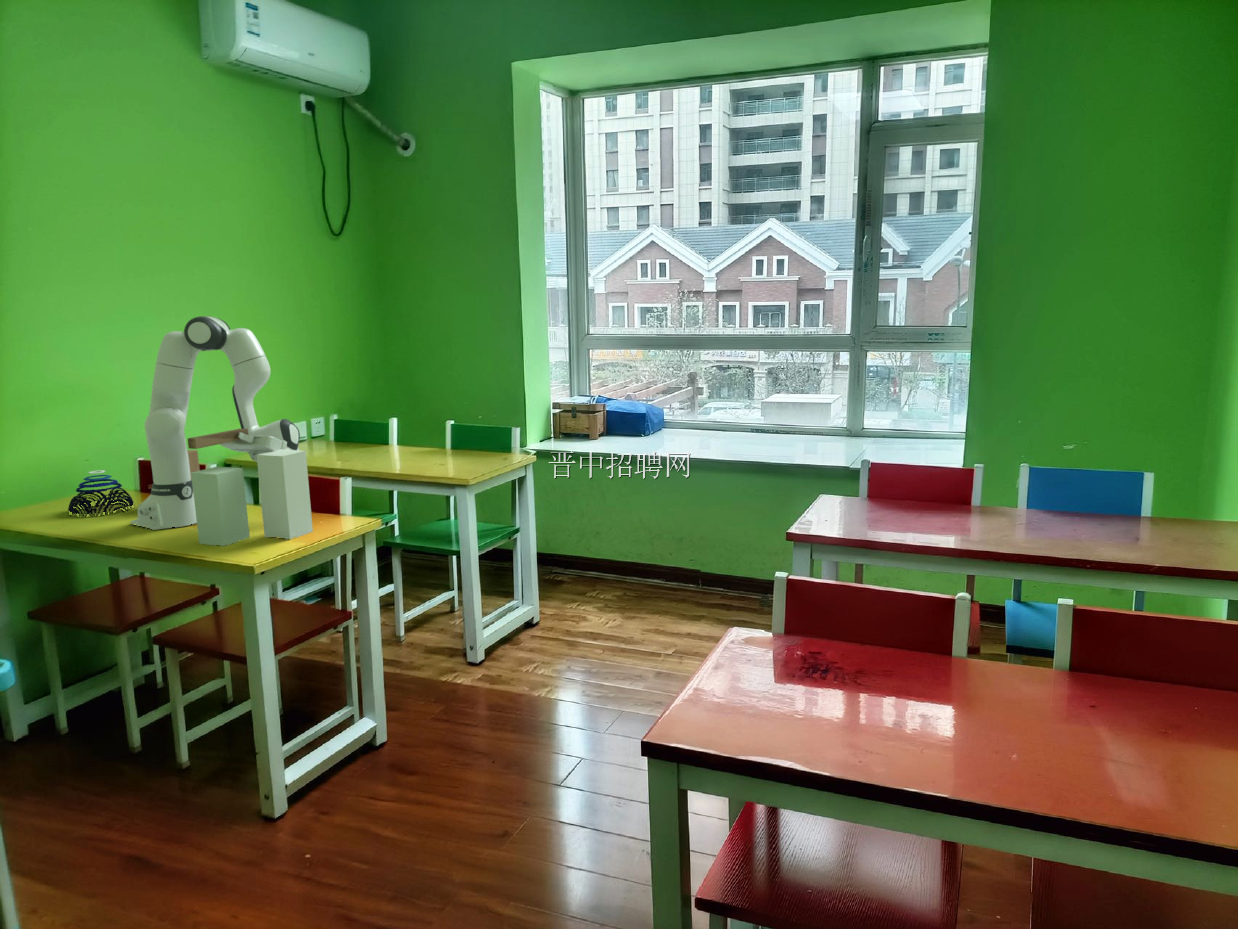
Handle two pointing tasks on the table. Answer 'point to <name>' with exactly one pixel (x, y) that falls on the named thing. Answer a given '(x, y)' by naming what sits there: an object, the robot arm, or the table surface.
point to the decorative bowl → (75, 500)
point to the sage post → (220, 505)
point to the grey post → (284, 493)
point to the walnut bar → (214, 438)
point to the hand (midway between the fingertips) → (232, 434)
